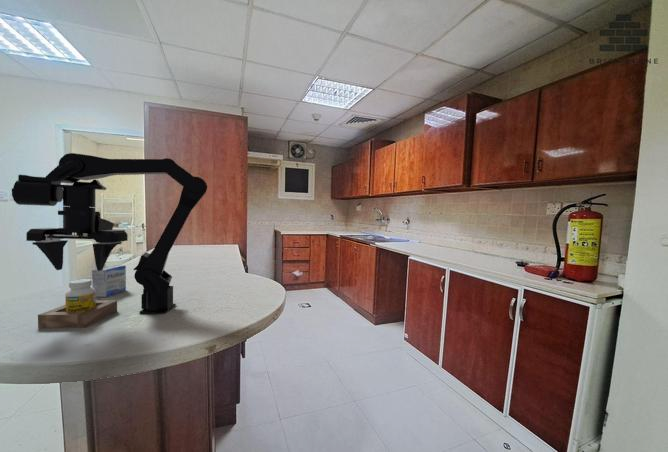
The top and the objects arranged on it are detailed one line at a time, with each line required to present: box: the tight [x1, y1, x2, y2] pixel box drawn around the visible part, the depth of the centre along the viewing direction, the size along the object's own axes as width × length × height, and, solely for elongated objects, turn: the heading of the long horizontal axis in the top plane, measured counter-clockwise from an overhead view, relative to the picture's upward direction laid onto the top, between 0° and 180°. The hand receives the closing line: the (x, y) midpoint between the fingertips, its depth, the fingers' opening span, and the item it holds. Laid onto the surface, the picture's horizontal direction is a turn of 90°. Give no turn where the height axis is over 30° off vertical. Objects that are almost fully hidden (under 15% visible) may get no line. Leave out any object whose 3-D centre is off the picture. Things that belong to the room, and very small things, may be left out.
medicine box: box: [91, 264, 127, 298], centre depth 85 cm, size 8×4×9 cm, turn 179°
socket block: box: [37, 299, 118, 329], centre depth 65 cm, size 10×10×3 cm
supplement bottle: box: [64, 278, 97, 312], centre depth 65 cm, size 5×5×10 cm
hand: (79, 270), depth 64 cm, fingers open, 9 cm apart
